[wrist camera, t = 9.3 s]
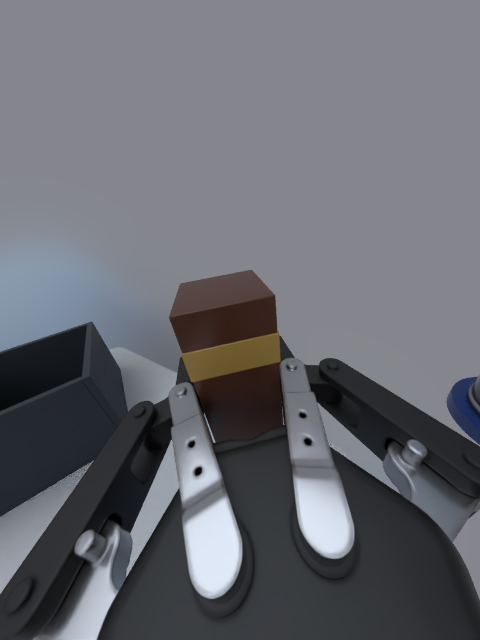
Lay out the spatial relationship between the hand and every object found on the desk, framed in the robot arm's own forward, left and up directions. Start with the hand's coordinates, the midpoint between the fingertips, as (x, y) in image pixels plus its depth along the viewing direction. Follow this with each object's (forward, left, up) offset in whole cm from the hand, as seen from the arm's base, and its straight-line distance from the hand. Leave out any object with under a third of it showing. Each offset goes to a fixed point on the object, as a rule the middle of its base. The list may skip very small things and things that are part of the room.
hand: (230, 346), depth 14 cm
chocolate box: (+1, +2, -7) cm, 7 cm away
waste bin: (+21, -23, -18) cm, 36 cm away
